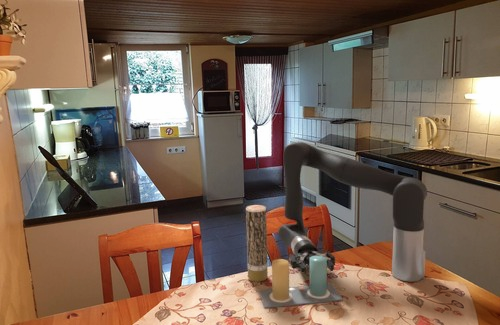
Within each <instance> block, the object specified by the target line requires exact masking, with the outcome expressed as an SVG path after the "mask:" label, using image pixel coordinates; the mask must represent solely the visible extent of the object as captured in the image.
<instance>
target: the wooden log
mask: <svg viewBox="0 0 500 325" xmlns="http://www.w3.org/2000/svg"><path fill="white" fill-rule="evenodd" d="M245 222H246V223H245V225H246V226H245V227H246V252H247V253H246V256H247V262H246V263H247V277H248V280H250V281H252V282H254V283H255V282H256V283H258V282H263V281H265V280H267V279H268V275H269V274H268V235H267V234H268V231H267V230H268V226H267V207H266V206H265V205H262V204H253V205H251V204H250V205H247V206H246V207H245Z"/></svg>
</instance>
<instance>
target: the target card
mask: <svg viewBox="0 0 500 325" xmlns="http://www.w3.org/2000/svg"><path fill="white" fill-rule="evenodd" d="M258 291H259V295H260V298H261V301H262V304H263V308H264V309H272V308H282V307H291V306H299V305H300V306H301V305H311V304H320V303H322V304H323V303H330V302H340V301H342V302H343V301H344V298H343V297H342V295H341V294H340V293H339V291H338V290H337V289H336V287H335V286H334V285H333V284H332V282H330V283H329V282H328V283H327V294H326V295H325V296H321V297H317V296H313V295H311V294H310V284H309V285H298V286H289V298H288V299H287V300H284V301H279V300H275V299H274V298H273V296H272V288H266V289H259V290H258Z"/></svg>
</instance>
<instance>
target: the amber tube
mask: <svg viewBox="0 0 500 325" xmlns="http://www.w3.org/2000/svg"><path fill="white" fill-rule="evenodd" d="M271 281H272V282H271V285H272V286H271V287H272V288H271V289H272V296H273V298H274V299H275V300H279V301H284V300H287V299H288V298H289V287H290V262H289V260H287V259H282V258H277V259H274V260H272V261H271Z"/></svg>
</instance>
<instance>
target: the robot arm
mask: <svg viewBox="0 0 500 325" xmlns="http://www.w3.org/2000/svg"><path fill="white" fill-rule="evenodd" d="M282 154H283V156H282V157H283V166H284V167H283V168H284V179H285V201H284V217H285V218H286V219H287V220H290V221H295V223H292V224H291V223H288V224H287V223H284V224H282V225H281V226H280V227H279V229H278V238H279V240H280V241H281V242H282V244H284V245H285V246H288V247H290V248H291V250H292V253H290V254H289V255H288V256H289V259H288V262H289V265H290V266H291V269H293V270H295V269H298V270H300V272H301V273H303V274H305V275H306V274H307V273H308V272H307V266H310V257H312V256H323V257H325V258H326V259H327V268H328V270H329V272H334V270H335V266H336V257H335V256H334V255H333V254H332V253H331V252H330V251H328V250H326V251H325V253H322V252H320V251H319V249H318V248H317V246H316V245H315V244H314V243H313V241H311V239H310V238H309V237H308V236H306V235H307V234H306V228H305V224H304V217H303V216H304V215H303V214H304V213H303V210H304V194H303V189H302V185H301V172H302V168H303V166H304V167H309V168H313V169H316V170H318V171H322V172H323V173H325V174H326V175H327V176H329V177H330V178H331V179H333V180H335V181H337V182H339V183H341V184H345V185H347V186H349V187H354V188H357V189H363V190H371V191H376V192H377V191H378V192H382V193H385V194H388V195H390V196H392V218H393V219H392V220H393V231H392V232H393V235H392V236H393V237H392V238H393V240H392V262H391V263H392V264H391V267H392V268H391V274H392V276H393V277H394V278H396V279H397V280H400V281H403V282H411V283H412V282H413V283H414V282H419V281H420V280H422V279H425V270H426V268H425V267H426V251H425V250H424V234H425V232H424V231H425V220H424V207H425V206H424V205H425V199H426V197H427V196H428V190H427V186H426V185H425V184H424V182H422V181H421V180H420V179H417V178H415V177H411V176H406V175H400V174H396V173H392V172H388V171H385V170H382V169H381V168H378V167H376V166H372V165H370V164H368V163H364V162H361V161H359V160H356V159H353V158H349V157H345V156H343V155H339V154H334V153H331V152H327V151H323V150H321V149H320V148H317V147H315V146H312V145H310V144H309V143H306V142H300V141H298V142H292V143H289V144H287V145H286V146H285V148H284V150H283V153H282Z"/></svg>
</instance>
